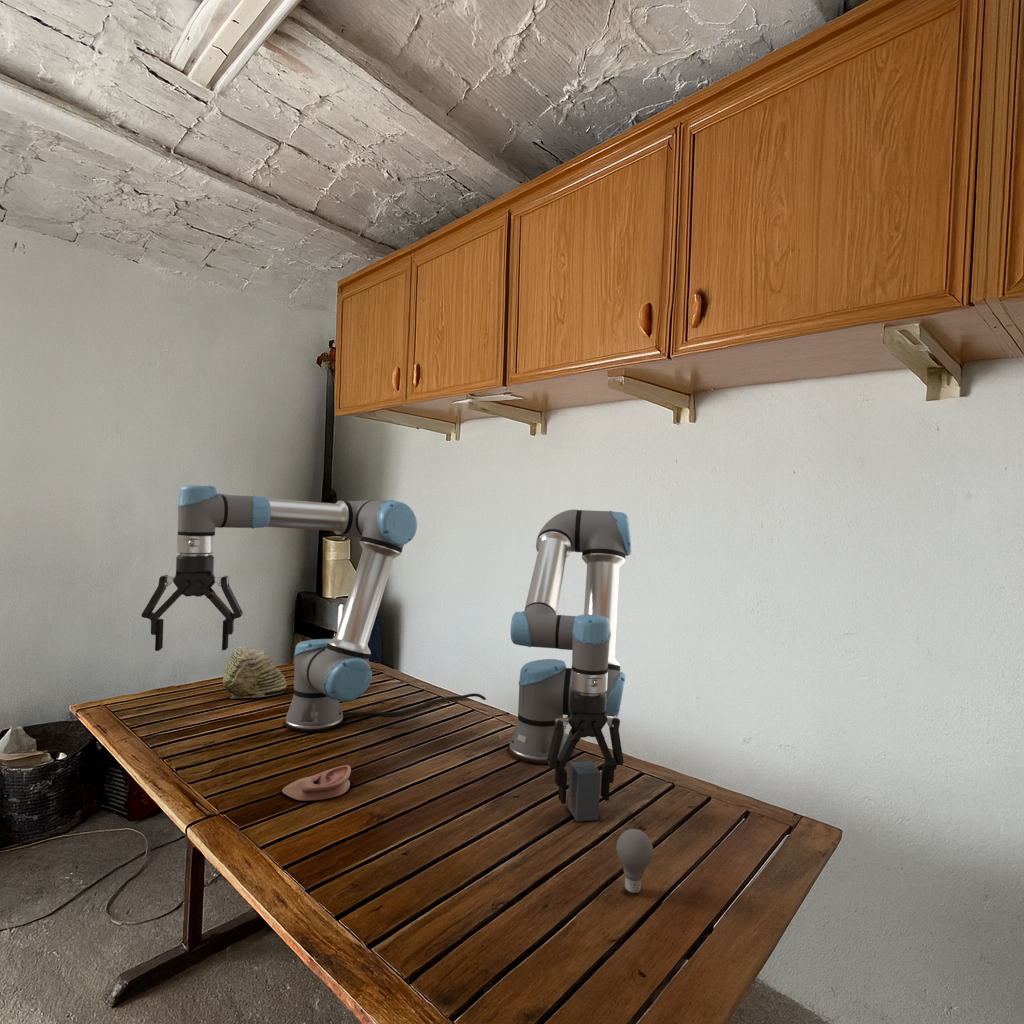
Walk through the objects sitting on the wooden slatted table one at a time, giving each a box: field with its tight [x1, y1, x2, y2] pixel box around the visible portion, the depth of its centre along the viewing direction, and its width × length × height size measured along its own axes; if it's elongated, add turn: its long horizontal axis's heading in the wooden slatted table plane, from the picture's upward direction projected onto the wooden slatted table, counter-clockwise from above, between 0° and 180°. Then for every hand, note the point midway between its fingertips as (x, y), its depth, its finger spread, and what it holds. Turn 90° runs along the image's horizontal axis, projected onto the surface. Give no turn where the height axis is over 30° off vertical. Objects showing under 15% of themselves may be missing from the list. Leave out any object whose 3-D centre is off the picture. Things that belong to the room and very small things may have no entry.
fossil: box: [222, 646, 288, 699], centre depth 198 cm, size 9×18×15 cm, turn 132°
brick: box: [567, 760, 602, 822], centre depth 131 cm, size 5×6×10 cm
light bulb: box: [615, 828, 654, 894], centre depth 106 cm, size 6×6×10 cm
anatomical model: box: [281, 764, 352, 802], centre depth 137 cm, size 13×4×12 cm
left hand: (192, 649), depth 141 cm, fingers open, 13 cm apart
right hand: (583, 799), depth 131 cm, fingers open, 9 cm apart
